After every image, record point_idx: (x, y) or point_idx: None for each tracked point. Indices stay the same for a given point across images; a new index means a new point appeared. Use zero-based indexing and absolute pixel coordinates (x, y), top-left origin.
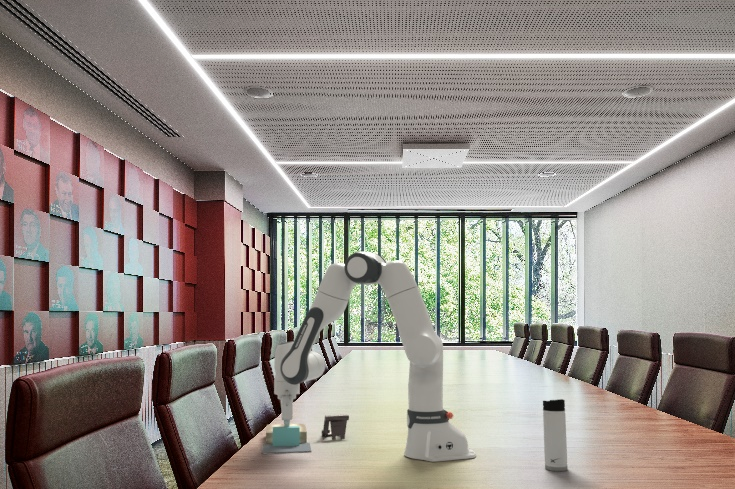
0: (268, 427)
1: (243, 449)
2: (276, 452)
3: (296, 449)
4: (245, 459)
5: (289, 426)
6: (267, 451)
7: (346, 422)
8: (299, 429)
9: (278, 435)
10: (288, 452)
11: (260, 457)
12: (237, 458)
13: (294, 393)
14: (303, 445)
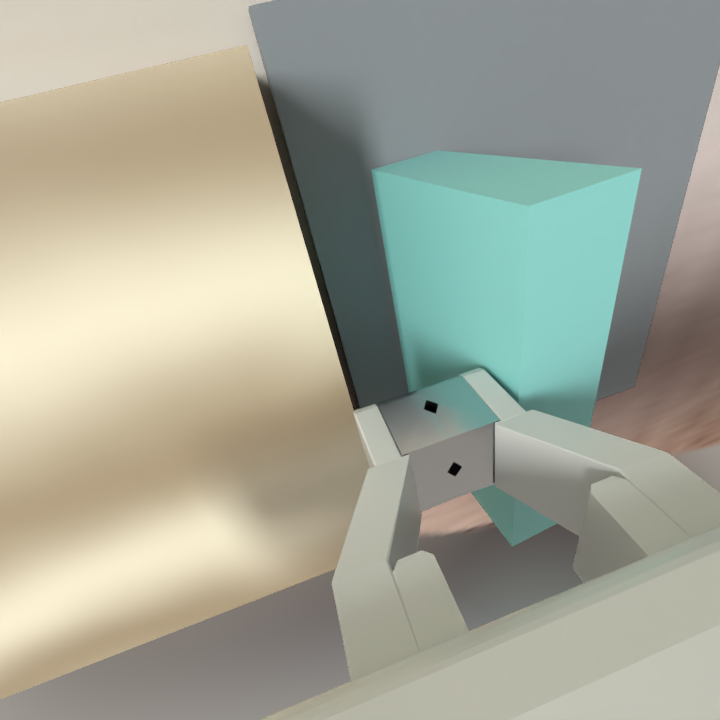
0: (80, 656)
1: (482, 512)
2: (654, 299)
3: (626, 139)
4: (708, 409)
5: (529, 386)
6: (614, 367)
7: None
8: (603, 166)
9: None
10: (675, 202)
11: (704, 356)
12: (671, 449)
13: None
14: (449, 86)
